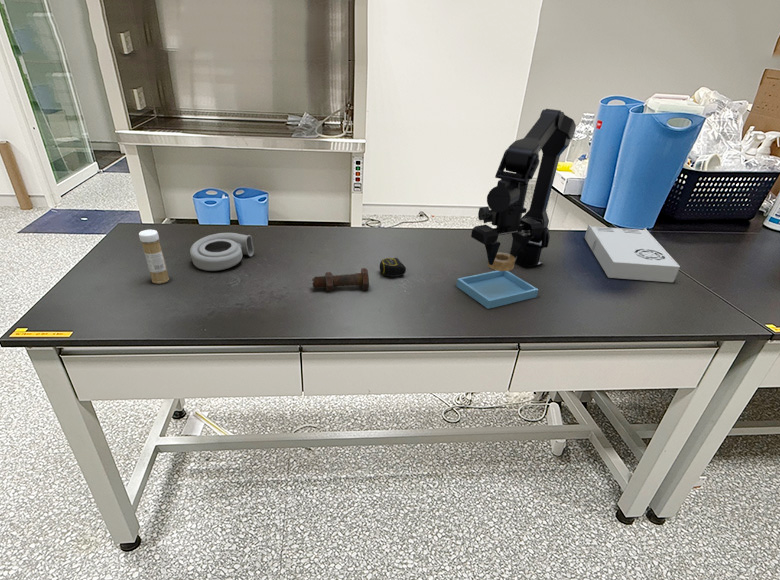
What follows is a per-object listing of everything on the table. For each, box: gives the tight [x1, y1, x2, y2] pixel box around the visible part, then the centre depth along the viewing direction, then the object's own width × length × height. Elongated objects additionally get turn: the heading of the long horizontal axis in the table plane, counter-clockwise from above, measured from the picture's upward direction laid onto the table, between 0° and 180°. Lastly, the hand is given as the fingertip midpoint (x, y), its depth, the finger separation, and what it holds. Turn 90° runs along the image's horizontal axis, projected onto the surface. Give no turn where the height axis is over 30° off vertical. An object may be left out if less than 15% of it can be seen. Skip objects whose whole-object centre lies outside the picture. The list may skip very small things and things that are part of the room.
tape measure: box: [379, 257, 407, 277], centre depth 143 cm, size 7×7×4 cm
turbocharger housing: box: [189, 232, 255, 272], centre depth 146 cm, size 17×6×15 cm
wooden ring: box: [487, 251, 516, 272], centre depth 133 cm, size 7×7×2 cm
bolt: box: [311, 267, 370, 292], centre depth 134 cm, size 6×5×15 cm
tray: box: [455, 270, 539, 310], centre depth 137 cm, size 17×15×2 cm
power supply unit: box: [584, 224, 681, 283], centre depth 158 cm, size 19×33×5 cm, turn 174°
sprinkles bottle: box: [138, 229, 170, 285], centre depth 132 cm, size 5×5×14 cm
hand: (501, 262), depth 133 cm, fingers closed on wooden ring, 7 cm apart
